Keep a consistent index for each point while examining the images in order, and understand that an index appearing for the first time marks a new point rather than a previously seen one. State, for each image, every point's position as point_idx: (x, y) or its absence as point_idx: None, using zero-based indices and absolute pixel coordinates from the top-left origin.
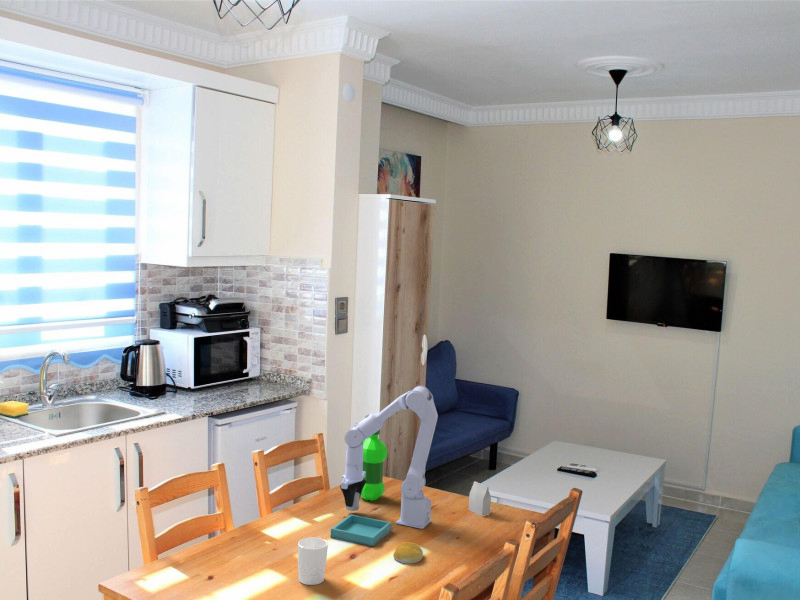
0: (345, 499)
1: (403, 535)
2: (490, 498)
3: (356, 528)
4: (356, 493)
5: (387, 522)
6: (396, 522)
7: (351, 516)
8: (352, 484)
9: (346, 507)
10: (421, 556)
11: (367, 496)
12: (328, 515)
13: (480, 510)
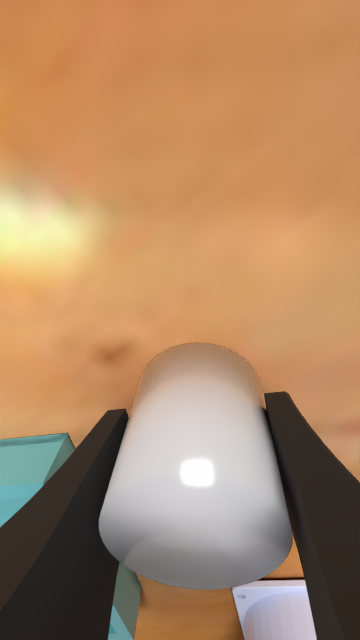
0: (68, 470)
1: (141, 621)
2: None
3: (10, 505)
4: (229, 562)
5: (119, 631)
6: (232, 591)
7: (24, 493)
8: (332, 628)
9: (140, 383)
10: None
11: None
12: (29, 241)
13: None
